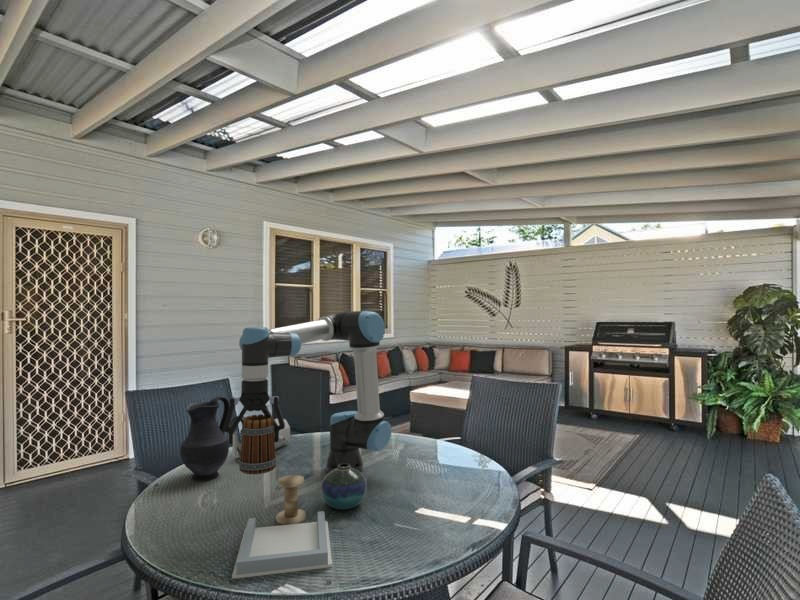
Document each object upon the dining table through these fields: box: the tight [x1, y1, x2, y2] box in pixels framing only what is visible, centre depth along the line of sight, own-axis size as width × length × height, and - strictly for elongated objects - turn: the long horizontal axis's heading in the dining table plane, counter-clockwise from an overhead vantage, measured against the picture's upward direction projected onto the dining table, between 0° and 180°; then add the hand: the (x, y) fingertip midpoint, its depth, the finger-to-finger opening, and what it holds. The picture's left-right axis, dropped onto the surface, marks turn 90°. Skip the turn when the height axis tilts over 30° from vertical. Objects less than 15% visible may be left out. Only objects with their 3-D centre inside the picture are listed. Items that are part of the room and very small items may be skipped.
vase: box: [320, 463, 368, 511], centre depth 152 cm, size 15×15×13 cm
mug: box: [229, 413, 278, 475], centre depth 135 cm, size 16×11×15 cm
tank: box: [237, 418, 291, 456], centre depth 210 cm, size 25×16×12 cm, turn 161°
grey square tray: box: [231, 510, 333, 580], centre depth 125 cm, size 24×24×4 cm
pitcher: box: [180, 395, 230, 482], centre depth 180 cm, size 17×21×30 cm
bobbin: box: [275, 474, 307, 525], centre depth 142 cm, size 9×9×12 cm
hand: (254, 454), depth 135 cm, fingers closed on mug, 10 cm apart
